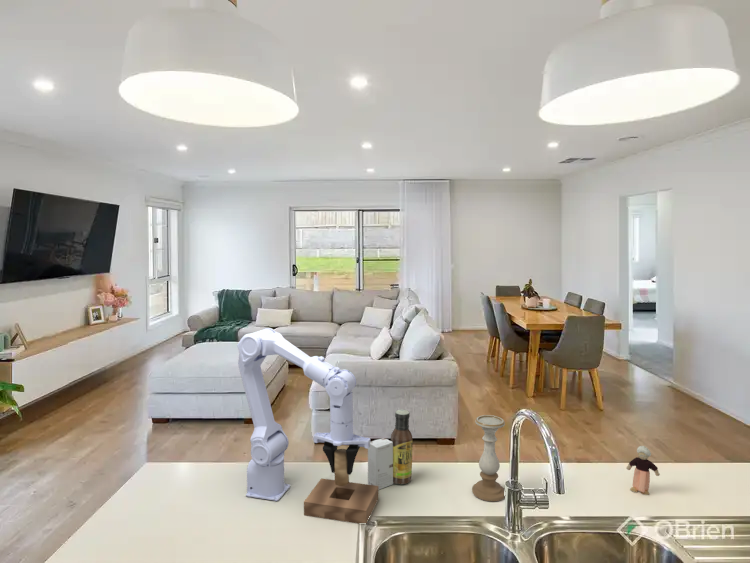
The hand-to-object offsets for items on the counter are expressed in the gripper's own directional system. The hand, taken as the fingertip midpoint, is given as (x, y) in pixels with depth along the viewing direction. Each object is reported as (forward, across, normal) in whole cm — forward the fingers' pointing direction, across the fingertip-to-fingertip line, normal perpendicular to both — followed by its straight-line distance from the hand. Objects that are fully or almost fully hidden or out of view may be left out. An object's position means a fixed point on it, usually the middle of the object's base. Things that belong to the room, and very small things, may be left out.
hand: (342, 471), depth 121 cm
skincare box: (+9, +7, +13) cm, 18 cm away
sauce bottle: (+10, +12, +17) cm, 23 cm away
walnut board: (+9, 0, 0) cm, 9 cm away
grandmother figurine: (+10, +76, +27) cm, 81 cm away
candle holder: (+10, +36, +16) cm, 41 cm away
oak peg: (+3, 0, 0) cm, 3 cm away
